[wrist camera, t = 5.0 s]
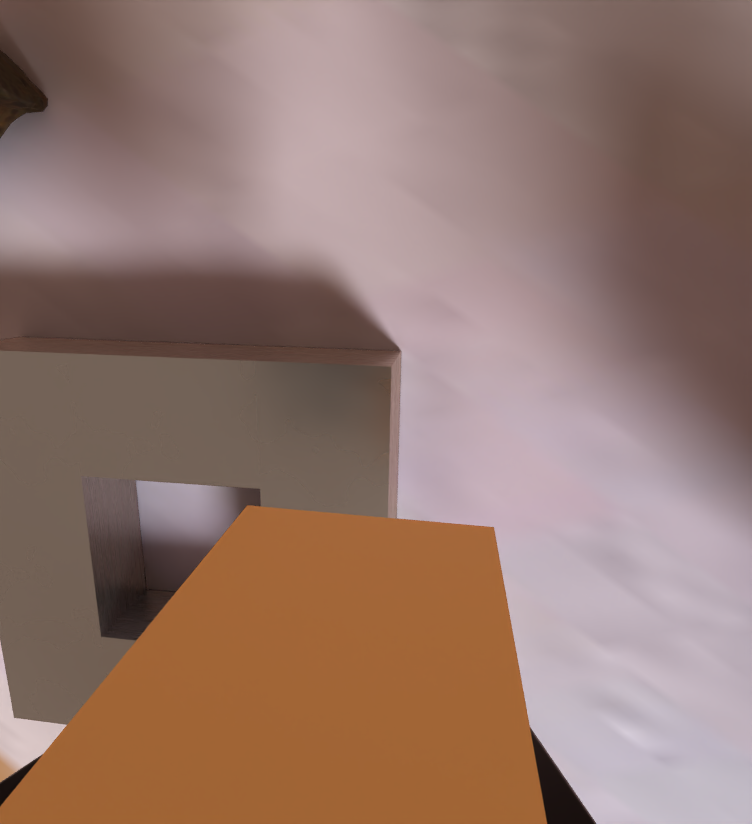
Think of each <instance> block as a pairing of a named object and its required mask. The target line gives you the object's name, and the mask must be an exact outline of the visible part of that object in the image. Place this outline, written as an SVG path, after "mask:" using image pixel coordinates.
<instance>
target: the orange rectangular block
mask: <svg viewBox="0 0 752 824" xmlns="http://www.w3.org/2000/svg"><path fill="white" fill-rule="evenodd" d="M0 824H547V820H546V815H545V809H544V803H543V798H542V792H541V787H540V781H539V776H538V770H537V765H536V759H535V753H534V748H533V742H532V737H531V731H530V726H529V720H528V715H527V709H526V703H525V698H524V692H523V687H522V681H521V676H520V670H519V665H518V659H517V653H516V648H515V642H514V637H513V631H512V626H511V620H510V615H509V609H508V604H507V598H506V592H505V587H504V581H503V576H502V570H501V565H500V559H499V554H498V548H497V542H496V537H495V531H494V527H485V526H474V525H463V524H451V523H440V522H429V521H418V520H407V519H395V518H384V517H373V516H362V515H350V514H339V513H328V512H317V511H305V510H294V509H283V508H272V507H261V506H249V505H247V506H246V507H245V509H244V510H243V511H242V512H241V514H240V515H239V516H238V517H237V518H236V520H235V521H234V522H233V523H232V525H231V526H230V527H229V528H228V529H227V531H226V532H225V533H224V534H223V535H222V537H221V538H220V539H219V540H218V542H217V543H216V544H215V545H214V546H213V548H212V549H211V550H210V551H209V553H208V554H207V555H206V556H205V557H204V559H203V560H202V561H201V562H200V564H199V565H198V566H197V567H196V568H195V570H194V571H193V572H192V573H191V575H190V576H189V577H188V578H187V579H186V581H185V582H184V583H183V584H182V586H181V587H180V588H179V589H178V590H177V592H176V593H175V594H174V595H173V596H172V598H171V599H170V600H169V601H168V603H167V604H166V605H165V606H164V607H163V609H162V610H161V611H160V612H159V614H158V615H157V616H156V617H155V618H154V620H153V621H152V622H151V623H150V625H149V626H148V627H147V628H146V629H145V631H144V632H143V633H142V634H141V636H140V637H139V638H138V639H137V640H136V642H135V643H134V644H133V645H132V646H131V648H130V649H129V650H128V651H127V653H126V654H125V655H124V656H123V657H122V659H121V660H120V661H119V662H118V664H117V665H116V666H115V667H114V668H113V670H112V671H111V672H110V673H109V675H108V676H107V677H106V678H105V679H104V681H103V682H102V683H101V684H100V686H99V687H98V688H97V689H96V690H95V692H94V693H93V694H92V695H91V697H90V698H89V699H88V700H87V701H86V703H85V704H84V705H83V706H82V707H81V709H80V710H79V711H78V712H77V714H76V715H75V716H74V717H73V718H72V720H71V721H70V722H69V723H68V725H67V726H66V727H65V728H64V729H63V731H62V732H61V733H60V734H59V736H58V737H57V738H56V739H55V740H54V742H53V743H52V744H51V745H50V747H49V748H48V749H47V750H46V751H45V753H44V754H43V755H42V756H41V758H40V759H39V760H38V761H37V762H36V764H35V765H34V766H33V767H32V768H31V770H30V771H29V772H28V773H27V775H26V776H25V777H24V778H23V779H22V781H21V782H20V783H19V784H18V786H17V787H16V788H15V789H14V790H13V792H12V793H11V794H10V795H9V797H8V798H7V799H6V800H5V801H4V803H3V804H2V805H1V806H0Z"/></svg>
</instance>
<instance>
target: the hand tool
mask: <svg viewBox="0 0 752 824" xmlns="http://www.w3.org/2000/svg"><path fill="white" fill-rule="evenodd" d="M47 100H48V99H47V98H46V97H45V95H44V94H43V93H42V92H41V91H40V90H39V89H38V88H37V87H36V86H35V85H34V84H33V83H32V82H31V81H30V80H29V79H28V78H27V77H26V75H25V74H24V72H23V71H22V70H21V69H20V68H19V67H18V66H17V65H16V64H15V63H14V62H13V61H12V60H11V59H10V58H9V57H8V56H7V55H6V54H5V53H3V52H2V51H1V50H0V138H1V136H2V135H3V134H4V132H5V131H6V129H7V128H8V127H9V125H10V124H11V123H12V122H13V121H14V120H16V119H17V118H18V117H20V116H22V115H23V114H25V113H32V112H43V111H44V109H45V108H46V107H47Z"/></svg>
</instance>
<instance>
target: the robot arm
mask: <svg viewBox="0 0 752 824" xmlns="http://www.w3.org/2000/svg"><path fill="white" fill-rule="evenodd" d="M530 731H531V737H532V742H533V748H534V753H535V759H536V765H537V770H538V776H539V781H540V787H541V792H542V798H543V803H544V809H545V815H546V820H547V824H596V822H595V821H594V819H593V818H592V817H591V815H590V814H589V812H588V811H587V809H586V808H585V806H584V805H583V803H582V802H581V801H580V799H579V798H578V796H577V795H576V793H575V792H574V790H573V789H572V787H571V786H570V785H569V783H568V782H567V780H566V779H565V777H564V776H563V774H562V773H561V771H560V770H559V769H558V767H557V766H556V764H555V763H554V761H553V760H552V758H551V757H550V755H549V754H548V753H547V751H546V750H545V748H544V747H543V745H542V744H541V742H540V741H539V739H538V738H537V737H536V735H535V734H534V732H533V731H532V729H531V728H530ZM42 755H43V754H42ZM42 755H41V756H42ZM41 756H39V757H38V758H36V759H35V760H33V761H32V762H30V763H29V764H27V765H26V766H24V767H23V768H21V769H20V770H18V771H17V772H15V773H14V774H12V775H11V776H9V777H8V778H6V779H5V780H3V781H2V782H0V806H1V805H2V804H3V803H4V801H5V800H6V799H7V798H8V797H9V795H10V794H11V793H12V792H13V790H14V789H15V788H16V787H17V786H18V784H19V783H20V782H21V781H22V779H23V778H24V777H25V776H26V775H27V773H28V772H29V771H30V770H31V768H32V767H33V766H34V765H35V764H36V762H37V761H38V760H39V759H40V758H41Z"/></svg>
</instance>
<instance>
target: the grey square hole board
mask: <svg viewBox="0 0 752 824" xmlns="http://www.w3.org/2000/svg"><path fill="white" fill-rule="evenodd" d="M400 382H401V351H388V350H361V349H334V348H307V347H279V346H252V345H225V344H198V343H171V342H144V341H117V340H90V339H63V338H36V337H16V338H10V339H4V340H0V641H1V646H2V652H3V657H4V663H5V669H6V674H7V680H8V686H9V691H10V697H11V702H12V708H13V714H14V718H21V719H28V720H36V721H43V722H51V723H59V724H66V725H68V723H69V722H70V721H71V720H72V718H73V717H74V716H75V715H76V714H77V712H78V711H79V710H80V709H81V707H82V706H83V705H84V704H85V703H86V701H87V700H88V699H89V698H90V697H91V695H92V694H93V693H94V692H95V690H96V689H97V688H98V687H99V686H100V684H101V683H102V682H103V681H104V679H105V678H106V677H107V676H108V675H109V673H110V672H111V671H112V670H113V668H114V667H115V666H116V665H117V664H118V662H119V661H120V660H121V659H122V657H123V656H124V655H125V654H126V653H127V651H128V650H129V649H130V648H131V646H132V645H133V644H134V643H135V642H136V640H137V639H138V638H139V637H140V636H141V634H142V633H143V632H144V631H145V629H146V628H147V627H148V626H149V625H150V623H151V622H152V621H153V620H154V618H155V617H156V616H157V615H158V614H159V612H160V611H161V610H162V609H163V607H164V606H165V605H166V604H167V603H168V601H169V600H170V599H171V598H172V596H173V595H174V594H175V593H176V592H168V591H157V590H147V589H146V581H145V571H144V561H143V551H142V540H141V530H140V520H139V510H138V500H137V490H136V480H141V481H156V482H170V483H184V484H198V485H212V486H226V487H240V488H255V489H260V502H261V507H272V508H283V509H294V510H305V511H317V512H328V513H339V514H350V515H362V516H373V517H384V518H395V519H397V488H398V453H399V417H400Z"/></svg>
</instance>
